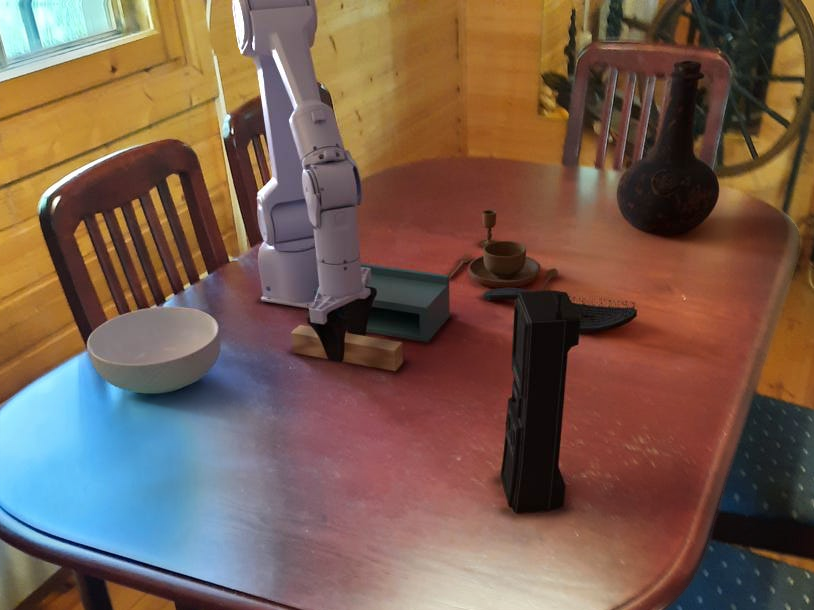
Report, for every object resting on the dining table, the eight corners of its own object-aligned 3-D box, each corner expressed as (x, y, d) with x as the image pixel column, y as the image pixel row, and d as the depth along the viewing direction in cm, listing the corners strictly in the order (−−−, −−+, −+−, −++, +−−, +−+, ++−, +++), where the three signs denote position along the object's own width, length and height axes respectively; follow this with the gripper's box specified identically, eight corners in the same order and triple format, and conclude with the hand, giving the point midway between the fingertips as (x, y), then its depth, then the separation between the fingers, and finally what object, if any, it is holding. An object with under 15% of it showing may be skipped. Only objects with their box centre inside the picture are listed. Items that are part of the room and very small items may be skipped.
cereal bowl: (112, 424, 108) (98, 375, 104) (89, 368, 120) (76, 322, 116) (242, 390, 114) (234, 343, 110) (208, 340, 126) (199, 296, 122)
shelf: (317, 324, 130) (313, 282, 126) (344, 300, 136) (340, 260, 132) (427, 342, 124) (426, 299, 120) (449, 316, 131) (449, 275, 127)
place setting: (440, 283, 141) (440, 248, 137) (481, 240, 155) (481, 208, 152) (543, 298, 135) (545, 262, 132) (575, 252, 150) (578, 219, 146)
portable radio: (498, 472, 98) (504, 264, 83) (549, 468, 98) (565, 261, 83) (508, 515, 92) (517, 299, 77) (564, 511, 92) (583, 295, 77)
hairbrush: (497, 270, 137) (646, 296, 125) (497, 292, 139) (644, 319, 127) (470, 289, 132) (624, 318, 120) (471, 312, 134) (622, 342, 122)
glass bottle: (603, 238, 155) (620, 70, 138) (625, 206, 168) (643, 49, 151) (704, 250, 149) (734, 77, 133) (718, 216, 162) (747, 54, 146)
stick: (293, 352, 122) (290, 332, 120) (302, 344, 124) (299, 324, 122) (395, 371, 117) (394, 350, 115) (403, 362, 119) (402, 342, 117)
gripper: (340, 281, 105) (349, 377, 113) (388, 240, 116) (393, 330, 124) (290, 274, 107) (302, 369, 116) (342, 234, 118) (350, 323, 126)
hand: (346, 348), depth 120 cm, fingers open, 6 cm apart
